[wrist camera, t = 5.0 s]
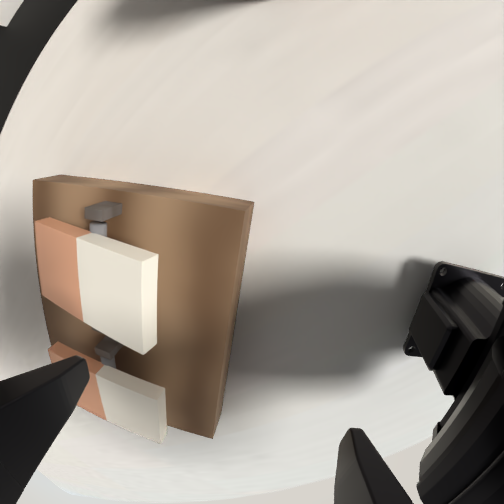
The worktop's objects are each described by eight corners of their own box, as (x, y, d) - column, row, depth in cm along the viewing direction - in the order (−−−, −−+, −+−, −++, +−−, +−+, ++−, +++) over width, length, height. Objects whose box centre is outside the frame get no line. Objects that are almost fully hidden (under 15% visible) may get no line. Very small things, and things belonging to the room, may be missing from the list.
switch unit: (254, 201, 18) (236, 219, 13) (221, 413, 24) (206, 457, 19) (57, 174, 19) (10, 184, 14) (75, 361, 25) (46, 390, 20)
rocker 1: (170, 241, 14) (141, 252, 12) (166, 341, 16) (143, 361, 14) (60, 208, 16) (34, 214, 14) (65, 289, 18) (43, 300, 16)
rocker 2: (170, 374, 17) (156, 396, 16) (171, 427, 19) (161, 446, 17) (64, 331, 19) (46, 345, 17) (77, 385, 21) (63, 399, 19)
